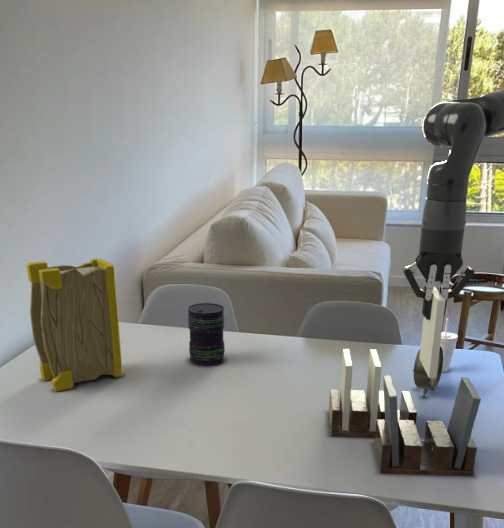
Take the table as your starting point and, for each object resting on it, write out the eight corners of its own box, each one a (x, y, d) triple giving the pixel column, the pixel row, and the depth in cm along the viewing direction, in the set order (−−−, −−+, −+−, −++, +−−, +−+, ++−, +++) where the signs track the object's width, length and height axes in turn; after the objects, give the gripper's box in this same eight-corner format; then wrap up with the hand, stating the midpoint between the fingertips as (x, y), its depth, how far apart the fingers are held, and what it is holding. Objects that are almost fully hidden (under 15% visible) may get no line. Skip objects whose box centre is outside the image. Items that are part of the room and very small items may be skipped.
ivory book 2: (371, 411, 163) (376, 349, 157) (375, 431, 153) (381, 366, 147) (365, 411, 163) (370, 349, 157) (369, 431, 153) (374, 366, 147)
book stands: (445, 415, 164) (448, 391, 161) (473, 476, 138) (477, 448, 135) (328, 412, 165) (330, 388, 162) (334, 471, 139) (336, 444, 136)
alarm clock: (428, 400, 171) (436, 336, 164) (407, 396, 174) (413, 333, 167) (441, 386, 180) (449, 324, 173) (420, 382, 182) (427, 321, 175)
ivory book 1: (345, 410, 164) (349, 348, 157) (348, 430, 154) (352, 365, 147) (339, 410, 164) (342, 348, 157) (341, 430, 154) (345, 365, 147)
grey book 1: (392, 441, 149) (390, 375, 142) (399, 466, 139) (397, 396, 132) (385, 442, 149) (383, 375, 142) (392, 466, 139) (389, 396, 132)
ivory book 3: (426, 358, 144) (434, 285, 137) (436, 378, 134) (445, 300, 127) (419, 358, 144) (426, 285, 137) (428, 378, 134) (437, 300, 127)
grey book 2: (450, 443, 148) (468, 377, 141) (461, 469, 138) (481, 399, 132) (443, 443, 148) (461, 376, 141) (453, 468, 138) (473, 398, 132)
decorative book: (109, 364, 193) (99, 253, 180) (126, 376, 185) (117, 261, 172) (37, 379, 183) (21, 263, 170) (52, 393, 175) (36, 272, 162)
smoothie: (453, 366, 193) (459, 316, 187) (453, 374, 187) (460, 323, 181) (429, 364, 194) (435, 315, 188) (429, 372, 189) (435, 321, 183)
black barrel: (200, 352, 203) (198, 301, 196) (230, 357, 199) (230, 305, 193) (183, 363, 195) (180, 310, 188) (214, 368, 191) (213, 314, 184)
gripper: (476, 221, 130) (464, 313, 137) (401, 221, 130) (394, 312, 138) (486, 228, 123) (473, 324, 131) (408, 228, 124) (399, 324, 131)
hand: (432, 318), depth 134 cm, fingers closed on ivory book 3, 1 cm apart
